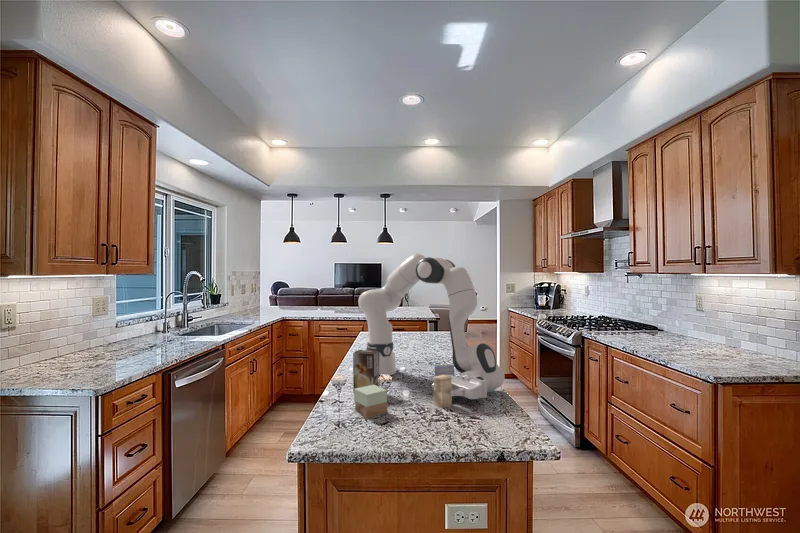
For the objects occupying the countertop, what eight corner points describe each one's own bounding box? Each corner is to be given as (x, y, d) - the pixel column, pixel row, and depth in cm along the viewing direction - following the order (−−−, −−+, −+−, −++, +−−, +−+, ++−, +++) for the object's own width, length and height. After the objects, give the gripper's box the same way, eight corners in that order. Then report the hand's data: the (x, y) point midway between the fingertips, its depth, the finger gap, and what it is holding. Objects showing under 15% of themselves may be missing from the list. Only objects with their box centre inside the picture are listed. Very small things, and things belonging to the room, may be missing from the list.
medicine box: (454, 385, 166) (454, 364, 166) (454, 388, 161) (454, 367, 161) (435, 385, 167) (434, 364, 167) (434, 388, 162) (434, 367, 162)
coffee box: (380, 391, 159) (380, 350, 159) (374, 396, 152) (374, 354, 152) (358, 389, 161) (358, 349, 161) (352, 394, 155) (352, 352, 155)
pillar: (433, 404, 143) (433, 376, 143) (443, 402, 145) (443, 374, 145) (441, 408, 139) (441, 379, 139) (451, 406, 142) (451, 377, 142)
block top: (354, 400, 136) (354, 388, 136) (373, 395, 141) (373, 384, 141) (366, 407, 130) (366, 394, 130) (386, 402, 135) (386, 390, 135)
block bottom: (355, 411, 137) (355, 399, 137) (375, 407, 142) (375, 395, 142) (366, 418, 130) (366, 406, 130) (387, 413, 135) (387, 402, 135)
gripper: (451, 369, 158) (423, 374, 151) (490, 381, 142) (461, 388, 134) (451, 385, 158) (423, 391, 151) (490, 399, 142) (461, 406, 134)
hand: (441, 389), depth 142 cm, fingers open, 8 cm apart
